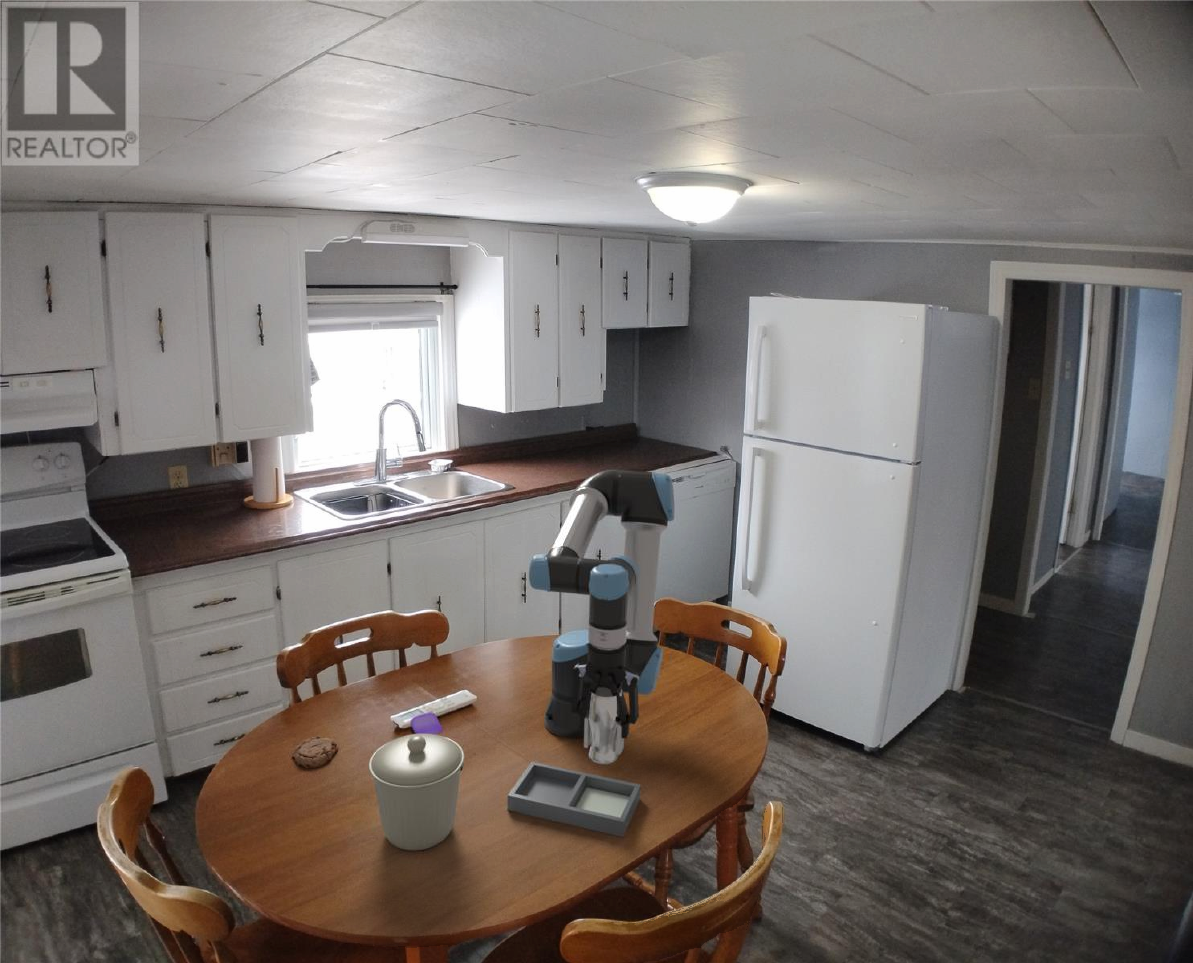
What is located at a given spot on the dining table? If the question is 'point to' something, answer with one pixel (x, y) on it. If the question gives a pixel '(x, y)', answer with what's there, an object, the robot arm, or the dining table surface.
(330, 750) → the cookie
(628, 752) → the dining table surface
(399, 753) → the canister
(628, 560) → the robot arm
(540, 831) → the dining table surface
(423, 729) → the spatula
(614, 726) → the beer glass
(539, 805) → the grey divided tray
